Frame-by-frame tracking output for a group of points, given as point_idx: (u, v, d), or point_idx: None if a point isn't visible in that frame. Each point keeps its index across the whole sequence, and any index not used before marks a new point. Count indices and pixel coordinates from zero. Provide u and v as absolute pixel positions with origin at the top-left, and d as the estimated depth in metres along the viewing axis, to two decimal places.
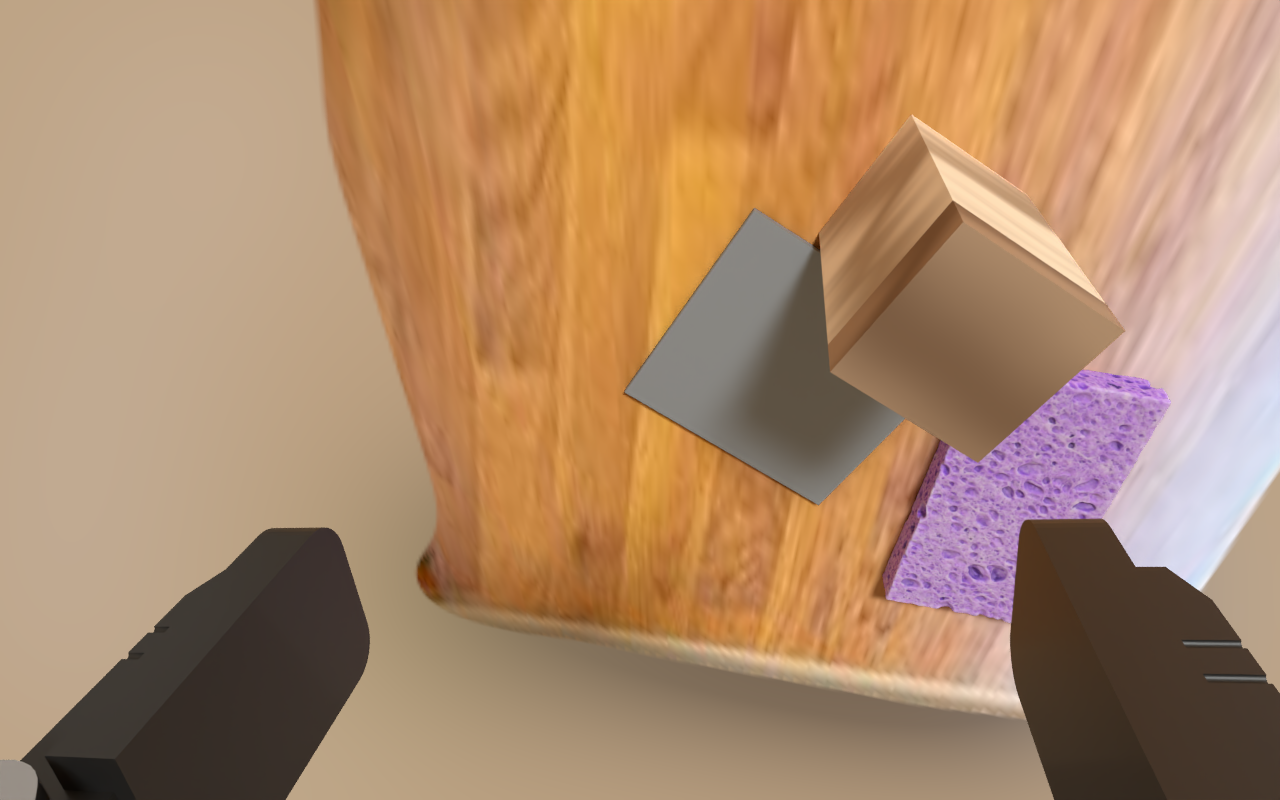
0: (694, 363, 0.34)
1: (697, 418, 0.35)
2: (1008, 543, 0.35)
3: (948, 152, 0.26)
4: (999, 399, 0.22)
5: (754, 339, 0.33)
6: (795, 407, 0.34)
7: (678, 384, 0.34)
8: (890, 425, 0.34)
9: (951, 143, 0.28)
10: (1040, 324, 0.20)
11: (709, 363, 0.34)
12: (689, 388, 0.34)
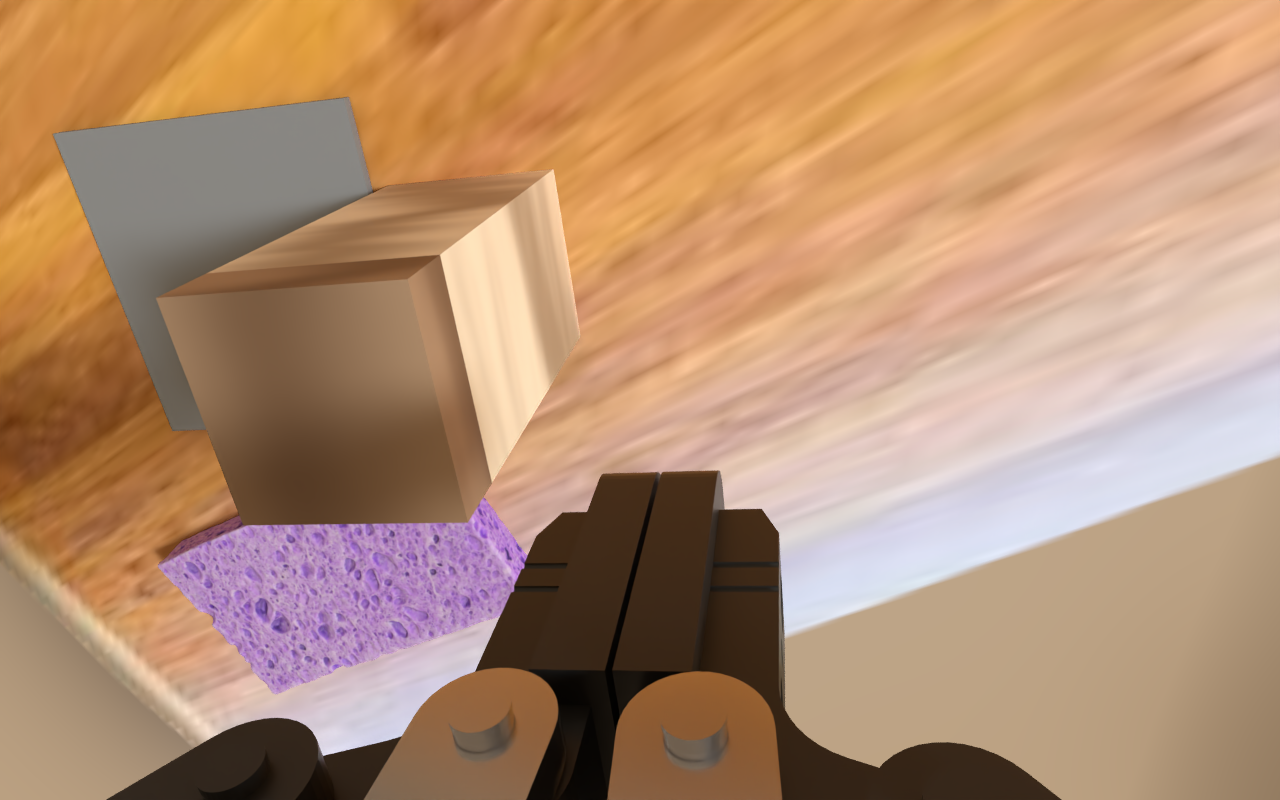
0: (157, 181, 0.25)
1: (113, 237, 0.26)
2: (311, 607, 0.30)
3: (538, 229, 0.22)
4: (309, 484, 0.17)
5: (240, 220, 0.25)
6: None
7: (122, 185, 0.25)
8: None
9: (560, 229, 0.24)
10: (400, 448, 0.16)
11: (173, 196, 0.25)
12: (131, 200, 0.25)
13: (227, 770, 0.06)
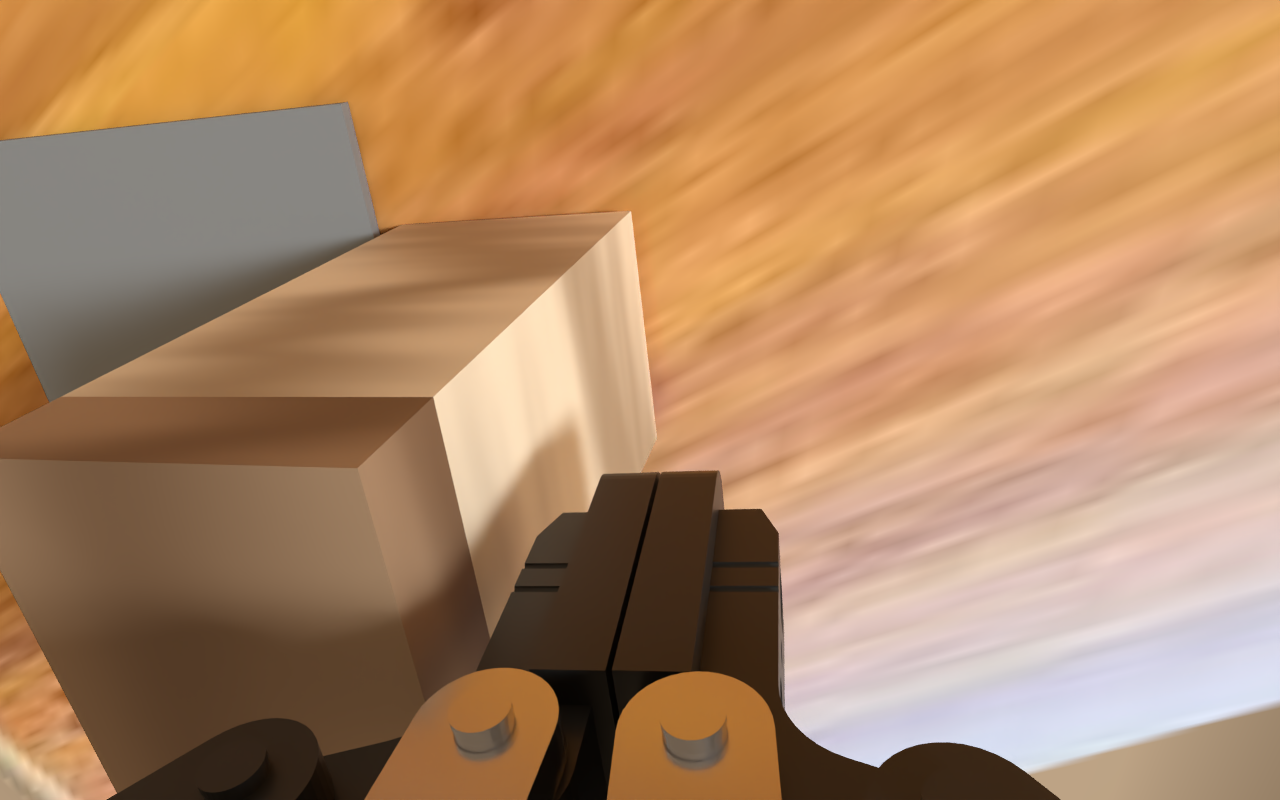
0: (80, 214, 0.18)
1: (23, 288, 0.19)
2: None
3: (606, 304, 0.15)
4: None
5: (195, 268, 0.18)
6: None
7: (33, 219, 0.18)
8: None
9: (637, 295, 0.17)
10: (353, 728, 0.09)
11: (104, 236, 0.18)
12: (45, 239, 0.18)
13: (228, 770, 0.06)
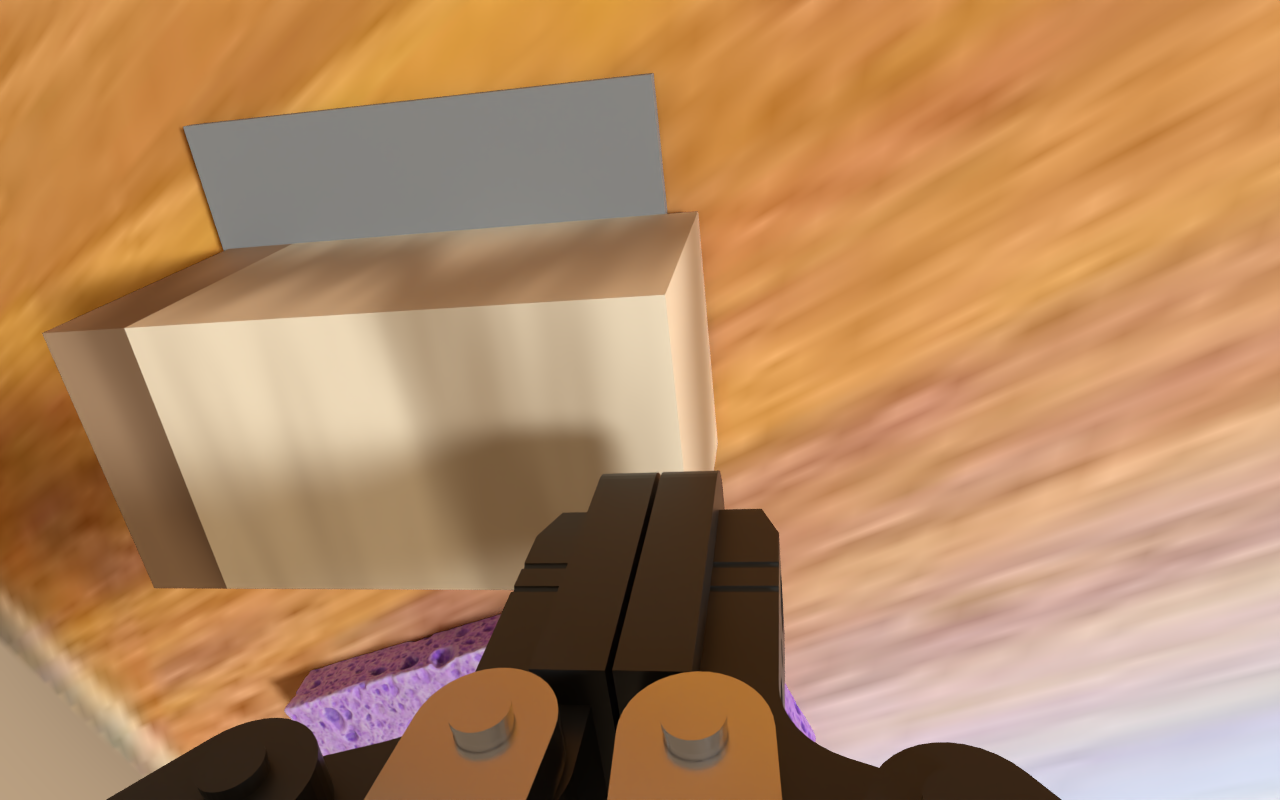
0: (337, 198, 0.17)
1: None
2: None
3: (519, 376, 0.12)
4: None
5: None
6: None
7: (282, 203, 0.17)
8: None
9: (661, 404, 0.12)
10: None
11: (360, 221, 0.17)
12: (293, 225, 0.17)
13: (228, 770, 0.06)
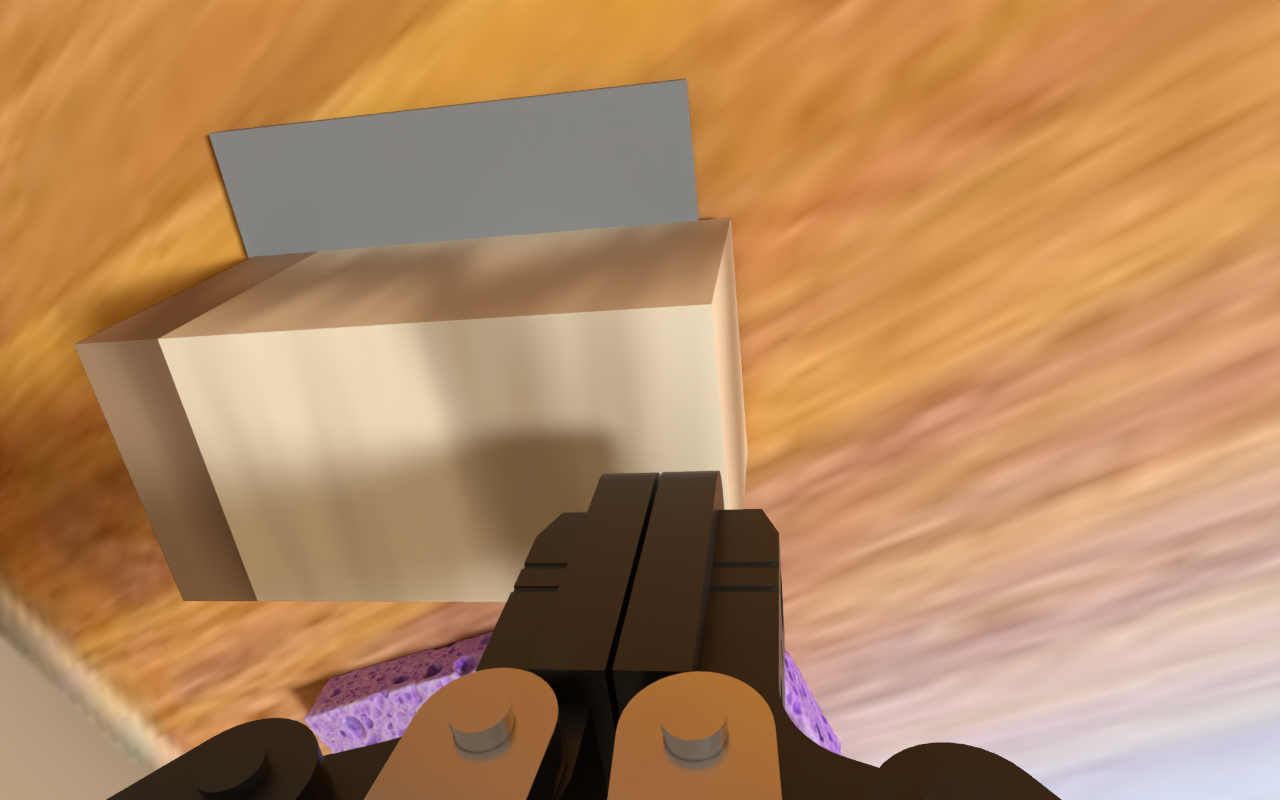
0: (364, 205, 0.17)
1: None
2: None
3: (560, 387, 0.12)
4: None
5: None
6: None
7: (308, 210, 0.17)
8: None
9: (704, 415, 0.12)
10: None
11: (387, 228, 0.17)
12: (319, 233, 0.17)
13: (228, 772, 0.06)
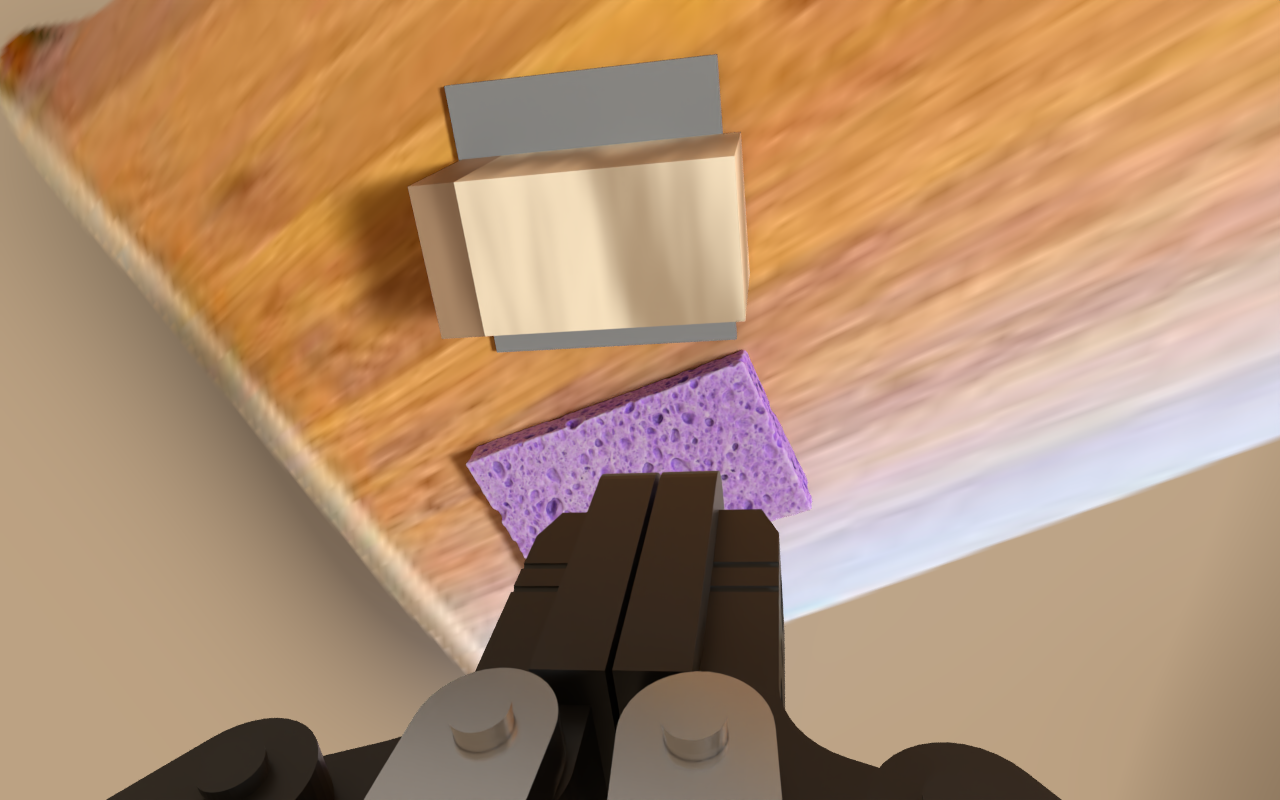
0: (531, 127, 0.29)
1: None
2: None
3: (659, 201, 0.25)
4: None
5: None
6: None
7: (498, 130, 0.29)
8: (621, 339, 0.32)
9: (730, 214, 0.24)
10: None
11: (544, 141, 0.29)
12: (503, 144, 0.30)
13: (228, 770, 0.06)
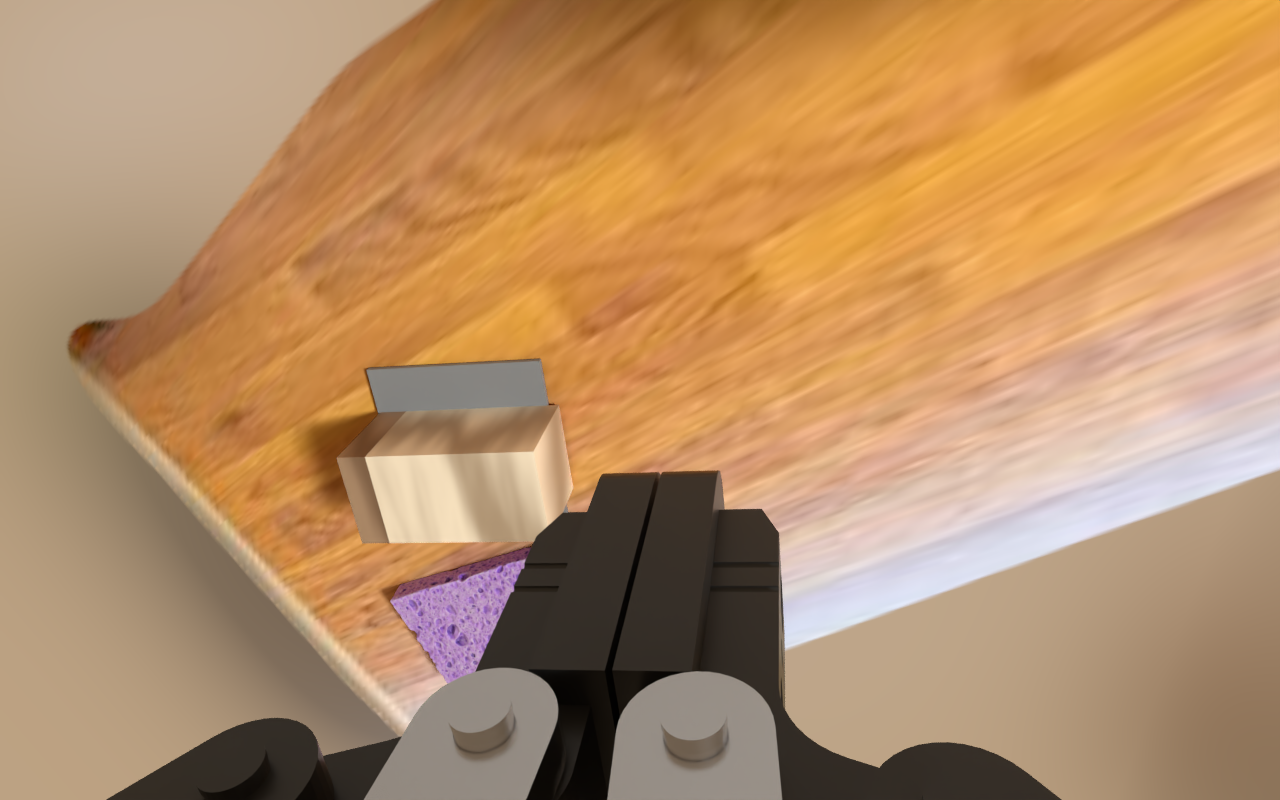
0: (424, 396, 0.44)
1: None
2: (485, 631, 0.49)
3: (491, 473, 0.39)
4: None
5: None
6: None
7: (403, 397, 0.44)
8: None
9: (534, 482, 0.39)
10: None
11: (433, 404, 0.44)
12: (406, 405, 0.44)
13: (228, 770, 0.06)
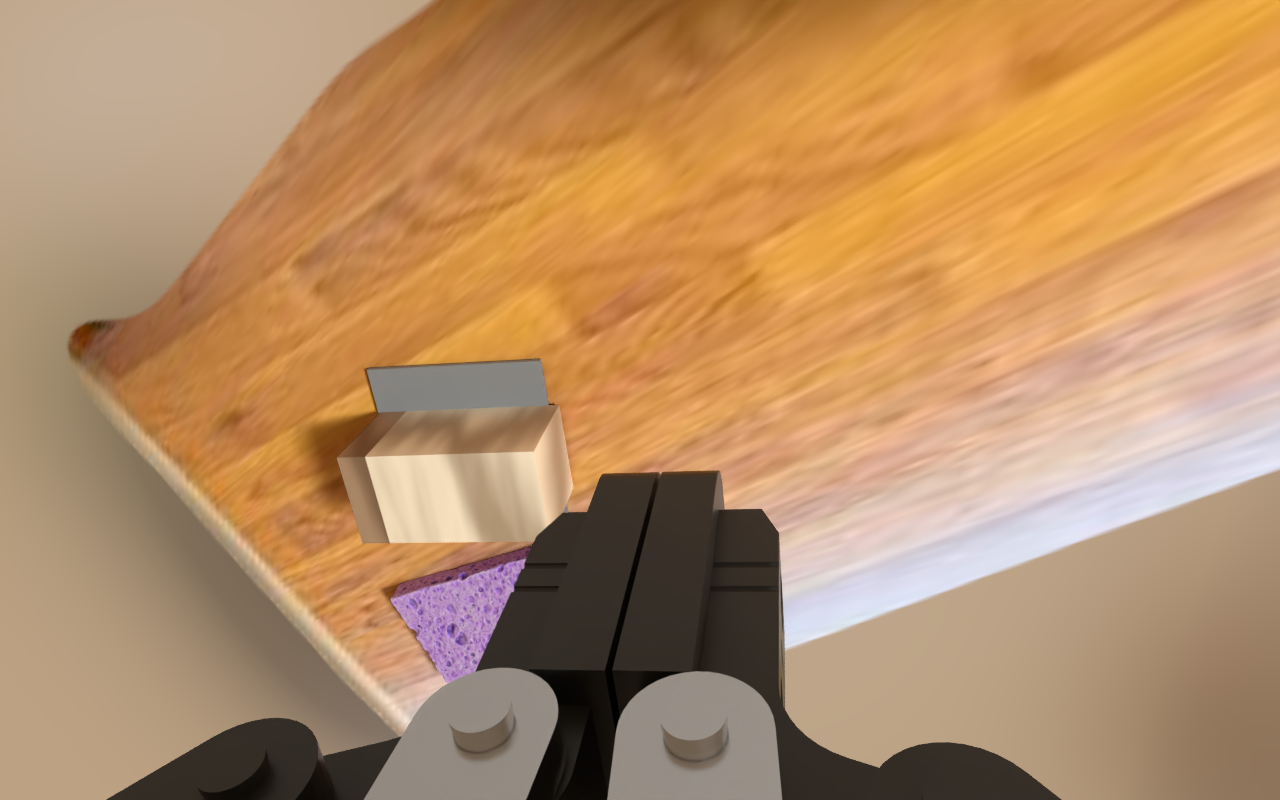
0: (424, 396, 0.44)
1: None
2: (484, 630, 0.49)
3: (491, 473, 0.39)
4: None
5: None
6: None
7: (403, 397, 0.44)
8: None
9: (534, 482, 0.39)
10: None
11: (433, 404, 0.44)
12: (407, 404, 0.44)
13: (228, 772, 0.06)
